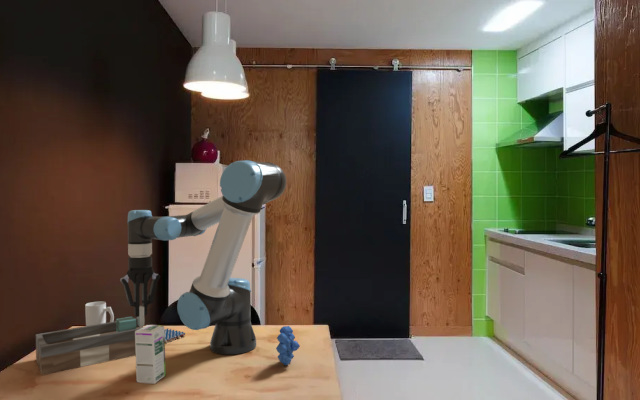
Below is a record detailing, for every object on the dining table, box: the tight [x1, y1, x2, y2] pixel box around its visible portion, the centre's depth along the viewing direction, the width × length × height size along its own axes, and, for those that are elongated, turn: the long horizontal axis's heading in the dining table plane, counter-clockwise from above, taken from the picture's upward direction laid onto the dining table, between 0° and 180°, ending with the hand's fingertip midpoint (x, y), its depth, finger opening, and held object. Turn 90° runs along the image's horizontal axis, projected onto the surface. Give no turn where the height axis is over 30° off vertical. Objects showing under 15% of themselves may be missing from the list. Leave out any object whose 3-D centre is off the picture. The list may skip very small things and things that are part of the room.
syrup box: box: [135, 324, 167, 385], centre depth 128 cm, size 6×6×14 cm
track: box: [35, 317, 144, 376], centre depth 147 cm, size 15×32×8 cm, turn 127°
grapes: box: [275, 325, 301, 366], centre depth 138 cm, size 12×7×12 cm, turn 166°
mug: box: [84, 301, 115, 326], centre depth 166 cm, size 10×7×12 cm, turn 85°
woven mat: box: [164, 328, 186, 344], centre depth 165 cm, size 10×11×2 cm
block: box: [115, 316, 136, 332], centre depth 153 cm, size 5×5×5 cm
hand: (141, 325), depth 156 cm, fingers closed
